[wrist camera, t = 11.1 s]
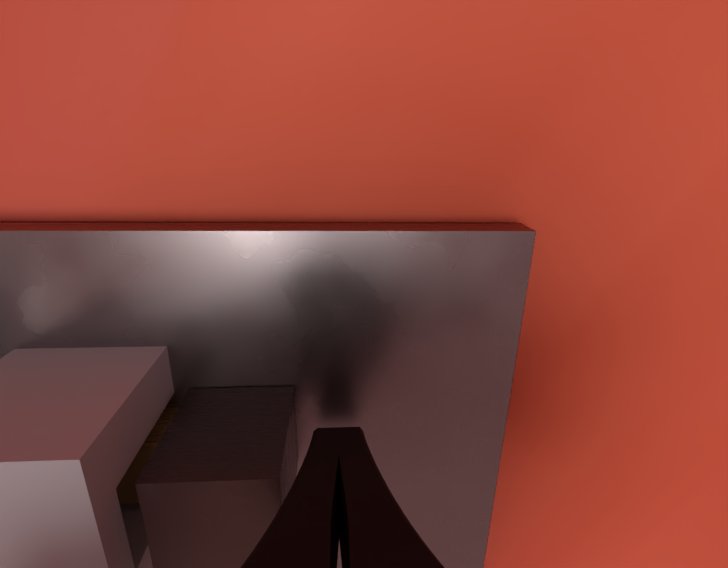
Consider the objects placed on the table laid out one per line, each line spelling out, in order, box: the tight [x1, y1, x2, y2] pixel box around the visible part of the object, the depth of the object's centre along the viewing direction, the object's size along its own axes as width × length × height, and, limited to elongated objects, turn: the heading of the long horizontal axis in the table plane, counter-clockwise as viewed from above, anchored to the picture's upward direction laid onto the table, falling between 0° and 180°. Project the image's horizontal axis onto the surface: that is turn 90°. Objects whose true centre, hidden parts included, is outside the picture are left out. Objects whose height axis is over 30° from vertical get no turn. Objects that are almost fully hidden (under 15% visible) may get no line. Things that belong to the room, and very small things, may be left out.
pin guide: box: [0, 346, 174, 568], centre depth 11 cm, size 6×4×4 cm
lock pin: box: [116, 386, 298, 568], centre depth 11 cm, size 3×11×4 cm, turn 89°
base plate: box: [0, 222, 536, 568], centre depth 14 cm, size 16×26×1 cm, turn 89°
